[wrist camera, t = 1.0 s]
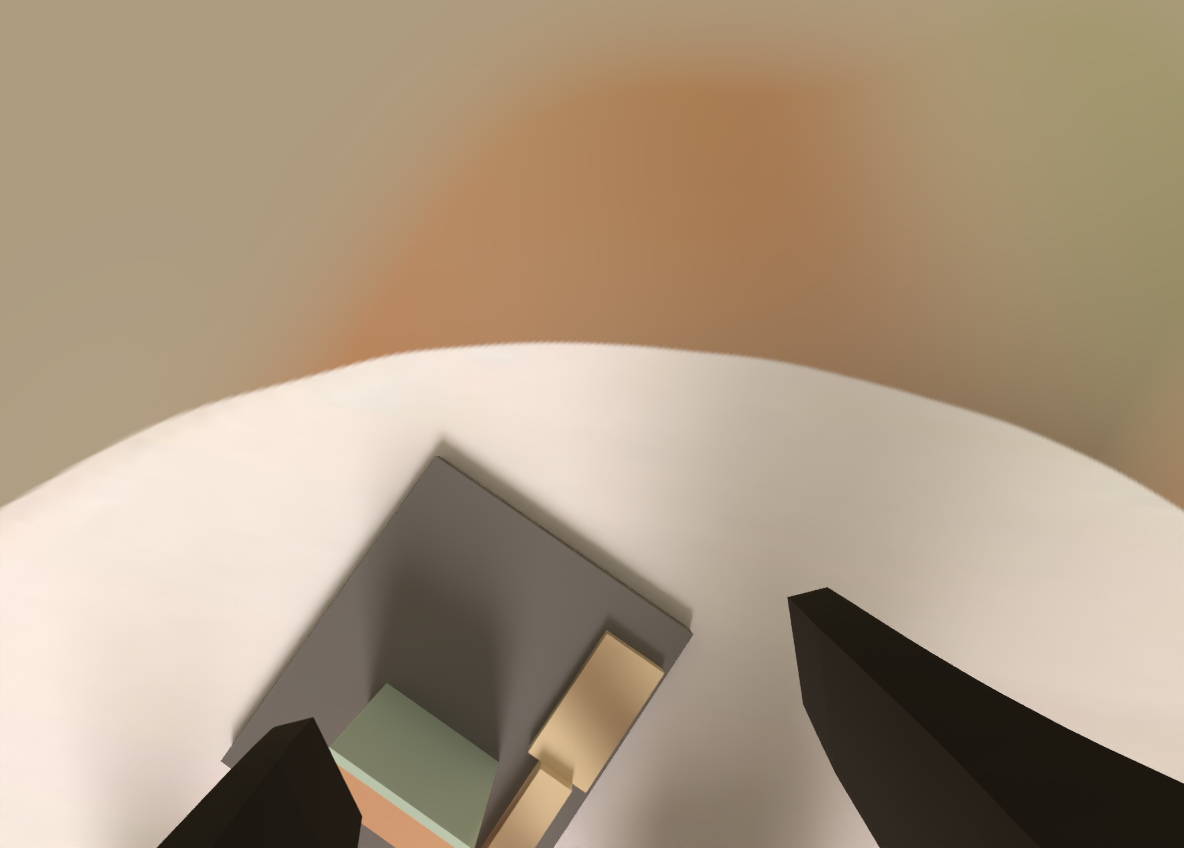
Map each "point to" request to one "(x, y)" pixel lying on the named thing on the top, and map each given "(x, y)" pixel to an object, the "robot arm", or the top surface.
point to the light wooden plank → (578, 738)
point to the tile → (414, 774)
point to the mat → (465, 634)
